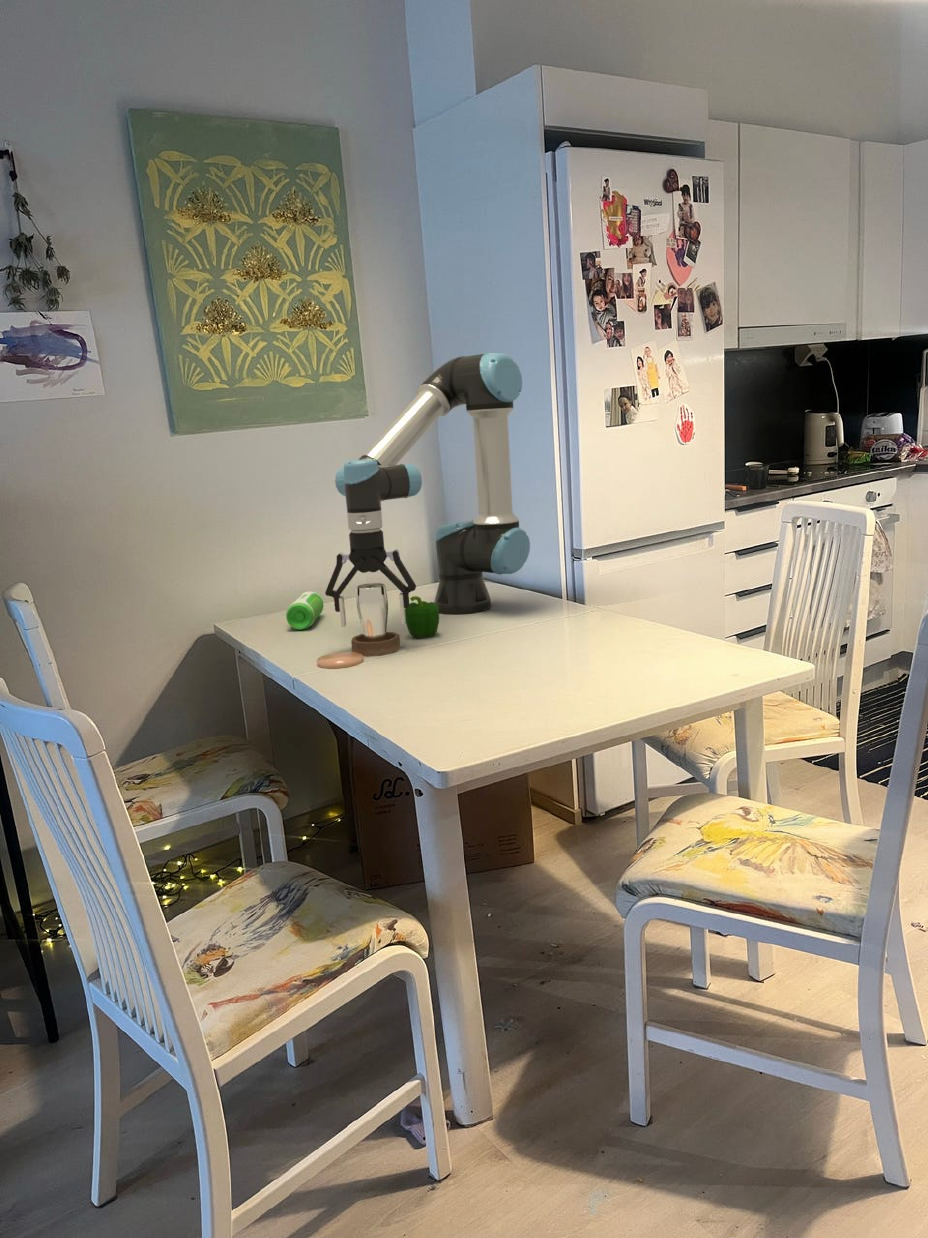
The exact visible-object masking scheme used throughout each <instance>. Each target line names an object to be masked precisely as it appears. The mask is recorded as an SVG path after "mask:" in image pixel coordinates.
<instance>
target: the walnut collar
mask: <svg viewBox="0 0 928 1238" xmlns="http://www.w3.org/2000/svg"><path fill="white" fill-rule="evenodd" d="M387 639H388V640H385V641H380V642H364V636H363V633H360V634H358V635H357V634H356V635H355V636H353V637H352V638H351V639H350V640H351V649H352V650H351V652H356V653H360V654H362V655H363V657H380V656H385V655H391V654H393V653H396V652H398V651H400V649H401V641H400V633H397V632H394V631H387Z"/></svg>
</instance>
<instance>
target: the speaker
mask: <svg viewBox="0 0 928 1238" xmlns="http://www.w3.org/2000/svg"><path fill="white" fill-rule="evenodd" d="M323 610H324V601H323V598H322V597H321V595H319V593H317V592H314V591H305V592H303V593H301V594H300V595H299V596H298V597H297V598H296V599H295V600H294V601H293V602H292V603H291V604H290V605H289V606H288V608H287V609H286V612H285V613H286V614H285V617H286V621H287V623H288V625H289V626H290V627H291V628H292V629H295V630H300V631H303V630H306V629H309V628H310V627H312V626H313V625H314V623H315V622H316V621H315V620H317V618H318V617H319V616H320V615H321V614H322V612H323ZM311 625H312V626H311Z"/></svg>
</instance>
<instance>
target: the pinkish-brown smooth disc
mask: <svg viewBox="0 0 928 1238" xmlns="http://www.w3.org/2000/svg"><path fill="white" fill-rule="evenodd" d="M363 662H364V656H363V655H362V654H360V653H356V652H352V651H341V652H339V651H338V652H334V653H333V652H332V653H328V654H325V655H322V656H319V657H318V658H317V659H316V663H317V664H316V665H317V667H318V668H321V669H330V670H331V669H344V668H350V667H354V666H357V665H360V664H362V663H363Z"/></svg>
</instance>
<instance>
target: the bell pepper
mask: <svg viewBox="0 0 928 1238" xmlns="http://www.w3.org/2000/svg"><path fill="white" fill-rule="evenodd" d="M409 600H410V601H411V602H409V607H408V608H405V617H406V622H405V624H406V627H407V630H408V633H409V635H410V637H412V638H415V639H421V638H425V637H426V638H428V637H429V638H430V637H434V636H436V635H437V632H438V628H439V623H440V613H439V607H438V605H437V603H435V602H432V601H430V602H427V601H425V600H422V599H421V597H419V595H418V596H417V595H414V596H413V595H412V596H411V597H409ZM414 601H416V602H414Z"/></svg>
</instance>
